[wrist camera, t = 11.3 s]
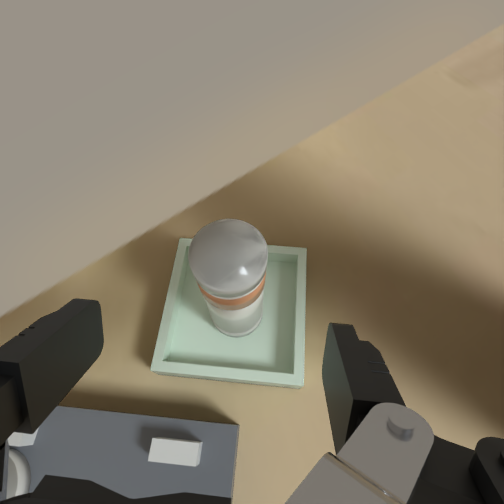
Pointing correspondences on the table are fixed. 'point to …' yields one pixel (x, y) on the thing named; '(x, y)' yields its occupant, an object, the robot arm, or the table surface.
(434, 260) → the table surface
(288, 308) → the tray
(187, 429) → the fuse holder
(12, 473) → the plain fuse
